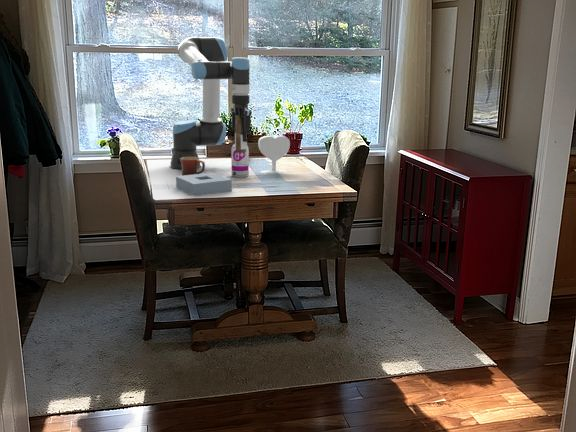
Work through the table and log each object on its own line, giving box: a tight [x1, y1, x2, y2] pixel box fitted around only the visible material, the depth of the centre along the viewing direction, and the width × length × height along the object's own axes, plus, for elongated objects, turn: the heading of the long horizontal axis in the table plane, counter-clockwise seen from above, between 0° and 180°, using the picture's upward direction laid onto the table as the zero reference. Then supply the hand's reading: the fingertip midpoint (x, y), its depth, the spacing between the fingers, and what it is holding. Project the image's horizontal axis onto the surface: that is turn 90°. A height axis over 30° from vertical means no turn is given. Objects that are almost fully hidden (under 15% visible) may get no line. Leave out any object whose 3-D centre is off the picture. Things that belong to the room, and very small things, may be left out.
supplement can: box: [230, 143, 250, 178], centre depth 296 cm, size 8×8×15 cm
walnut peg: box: [236, 115, 246, 153], centre depth 270 cm, size 4×4×16 cm
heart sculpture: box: [257, 135, 291, 174], centre depth 307 cm, size 16×5×18 cm, turn 104°
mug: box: [180, 156, 206, 176], centre depth 285 cm, size 12×9×10 cm
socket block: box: [175, 172, 233, 197], centre depth 269 cm, size 18×18×5 cm
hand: (240, 148), depth 271 cm, fingers closed on walnut peg, 4 cm apart
